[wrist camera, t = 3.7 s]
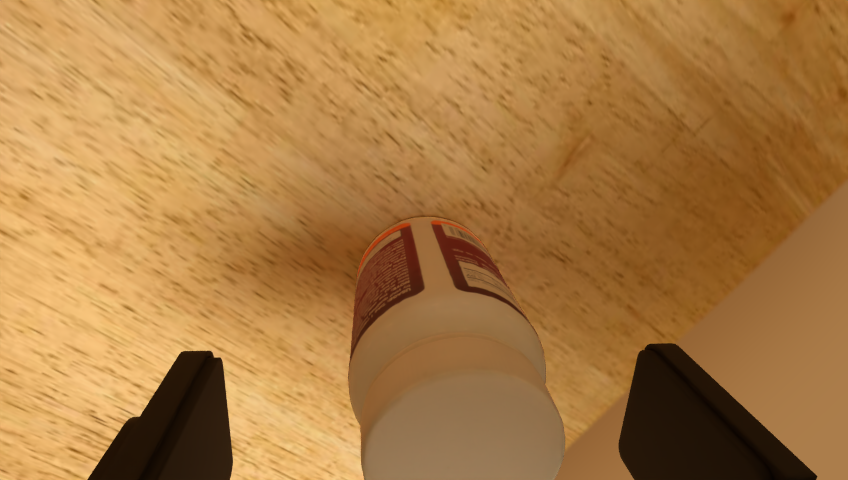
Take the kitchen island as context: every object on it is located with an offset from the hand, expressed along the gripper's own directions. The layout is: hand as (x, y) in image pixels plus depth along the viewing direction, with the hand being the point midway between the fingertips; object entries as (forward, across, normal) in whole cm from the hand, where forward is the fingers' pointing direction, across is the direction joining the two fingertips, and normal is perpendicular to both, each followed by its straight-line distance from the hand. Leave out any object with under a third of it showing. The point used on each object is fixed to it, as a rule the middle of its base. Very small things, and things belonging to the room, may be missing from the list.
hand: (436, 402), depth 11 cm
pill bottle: (+7, 0, 0) cm, 7 cm away
